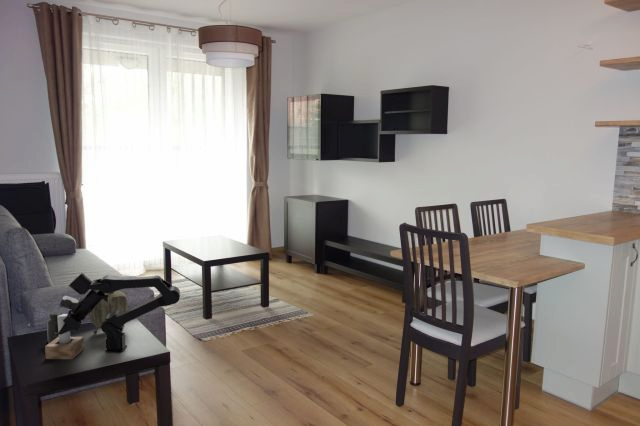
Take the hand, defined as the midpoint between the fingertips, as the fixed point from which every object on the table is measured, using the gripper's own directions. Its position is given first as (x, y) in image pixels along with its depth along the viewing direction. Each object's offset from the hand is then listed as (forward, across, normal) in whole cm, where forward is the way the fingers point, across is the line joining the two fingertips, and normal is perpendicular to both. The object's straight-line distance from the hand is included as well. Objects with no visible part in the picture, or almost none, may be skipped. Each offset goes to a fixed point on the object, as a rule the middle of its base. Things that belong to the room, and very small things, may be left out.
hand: (60, 331), depth 199 cm
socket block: (+6, 0, +7) cm, 9 cm away
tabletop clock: (-4, -20, +17) cm, 27 cm away
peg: (+4, 0, +6) cm, 7 cm away
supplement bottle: (+10, -15, +3) cm, 18 cm away
